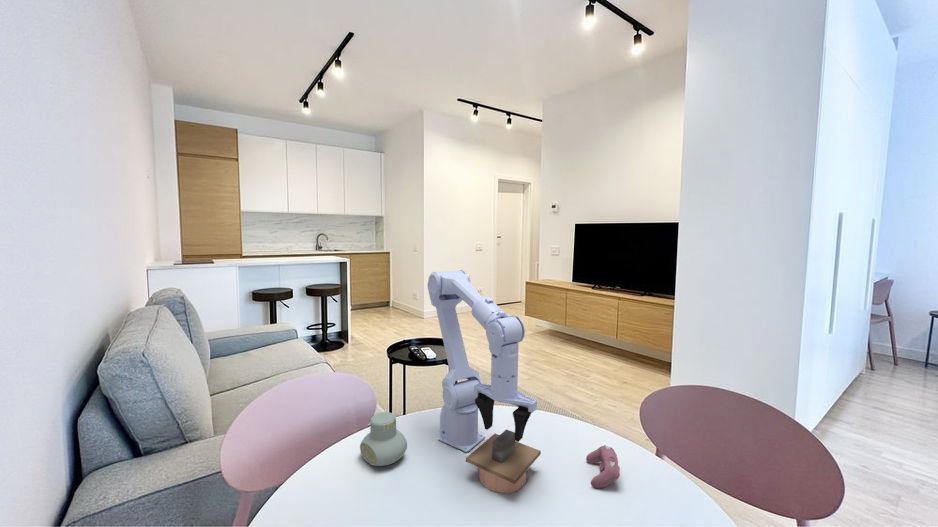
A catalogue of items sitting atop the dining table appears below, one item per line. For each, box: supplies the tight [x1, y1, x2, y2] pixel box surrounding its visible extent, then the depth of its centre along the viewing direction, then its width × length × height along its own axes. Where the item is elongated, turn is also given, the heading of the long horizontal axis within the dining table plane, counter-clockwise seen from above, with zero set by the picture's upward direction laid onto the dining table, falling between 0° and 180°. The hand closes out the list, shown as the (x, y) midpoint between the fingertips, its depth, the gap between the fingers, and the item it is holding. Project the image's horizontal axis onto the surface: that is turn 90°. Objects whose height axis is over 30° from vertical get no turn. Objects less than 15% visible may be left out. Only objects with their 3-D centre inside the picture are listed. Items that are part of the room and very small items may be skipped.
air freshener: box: [359, 411, 408, 467], centre depth 86 cm, size 11×8×10 cm
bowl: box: [478, 468, 527, 494], centre depth 81 cm, size 10×10×4 cm
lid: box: [465, 429, 542, 484], centre depth 81 cm, size 12×12×5 cm
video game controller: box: [585, 444, 621, 489], centre depth 81 cm, size 10×5×7 cm, turn 169°
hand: (503, 433), depth 80 cm, fingers open, 7 cm apart
